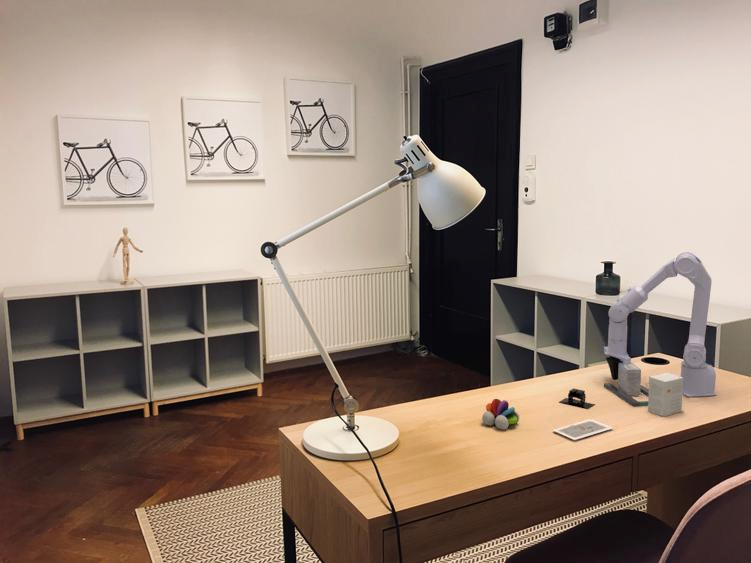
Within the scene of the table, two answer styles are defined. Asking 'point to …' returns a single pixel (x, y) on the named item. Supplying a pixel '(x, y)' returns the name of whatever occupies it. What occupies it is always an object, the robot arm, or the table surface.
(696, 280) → the robot arm
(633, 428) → the table surface
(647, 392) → the track
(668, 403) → the small box
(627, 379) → the medicine box
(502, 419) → the bunch of balls
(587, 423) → the touchpad
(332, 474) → the table surface
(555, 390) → the table surface
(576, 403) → the black ring bracket
